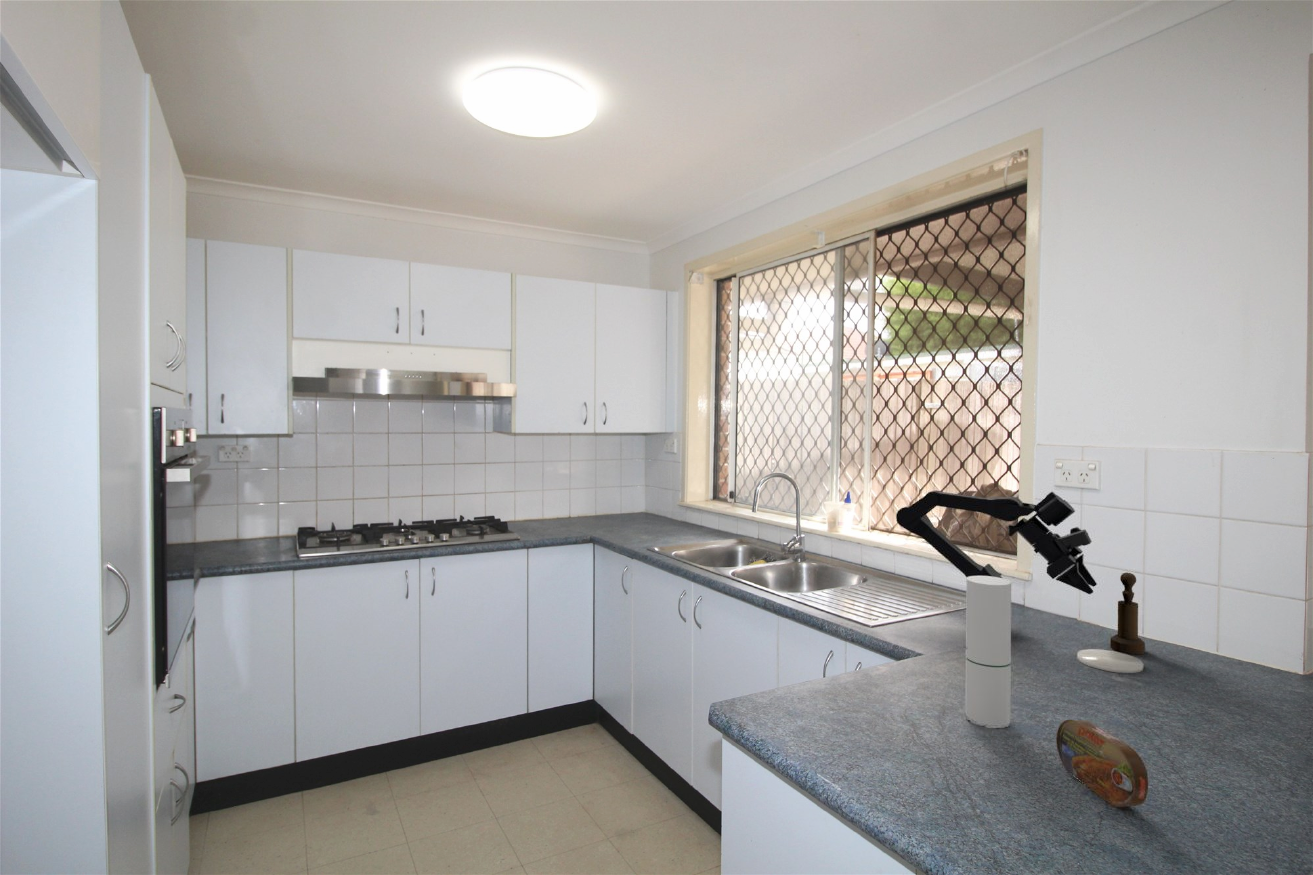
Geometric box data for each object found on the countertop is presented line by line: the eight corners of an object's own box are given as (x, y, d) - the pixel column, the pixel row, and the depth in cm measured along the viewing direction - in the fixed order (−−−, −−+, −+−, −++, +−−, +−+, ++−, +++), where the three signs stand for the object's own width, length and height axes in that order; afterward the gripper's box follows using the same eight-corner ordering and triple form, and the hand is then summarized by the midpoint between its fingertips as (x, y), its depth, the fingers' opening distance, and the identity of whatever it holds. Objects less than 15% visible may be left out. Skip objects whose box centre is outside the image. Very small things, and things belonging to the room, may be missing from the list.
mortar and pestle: (1134, 645, 158) (1135, 570, 158) (1151, 655, 152) (1152, 576, 151) (1104, 644, 159) (1105, 569, 158) (1120, 654, 152) (1121, 575, 152)
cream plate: (1084, 668, 143) (1084, 663, 143) (1072, 650, 155) (1072, 646, 155) (1151, 676, 139) (1151, 671, 139) (1133, 657, 150) (1133, 653, 150)
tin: (1054, 763, 104) (1054, 709, 104) (1073, 762, 104) (1073, 708, 104) (1130, 820, 89) (1131, 758, 89) (1153, 819, 89) (1153, 757, 89)
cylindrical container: (1006, 714, 121) (1007, 577, 120) (1013, 731, 114) (1014, 586, 114) (963, 708, 123) (964, 574, 123) (967, 725, 117) (968, 583, 116)
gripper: (1063, 521, 155) (1120, 575, 148) (1072, 513, 169) (1125, 561, 163) (1024, 551, 160) (1078, 605, 153) (1036, 541, 174) (1086, 589, 168)
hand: (1093, 589), depth 159 cm, fingers open, 9 cm apart
